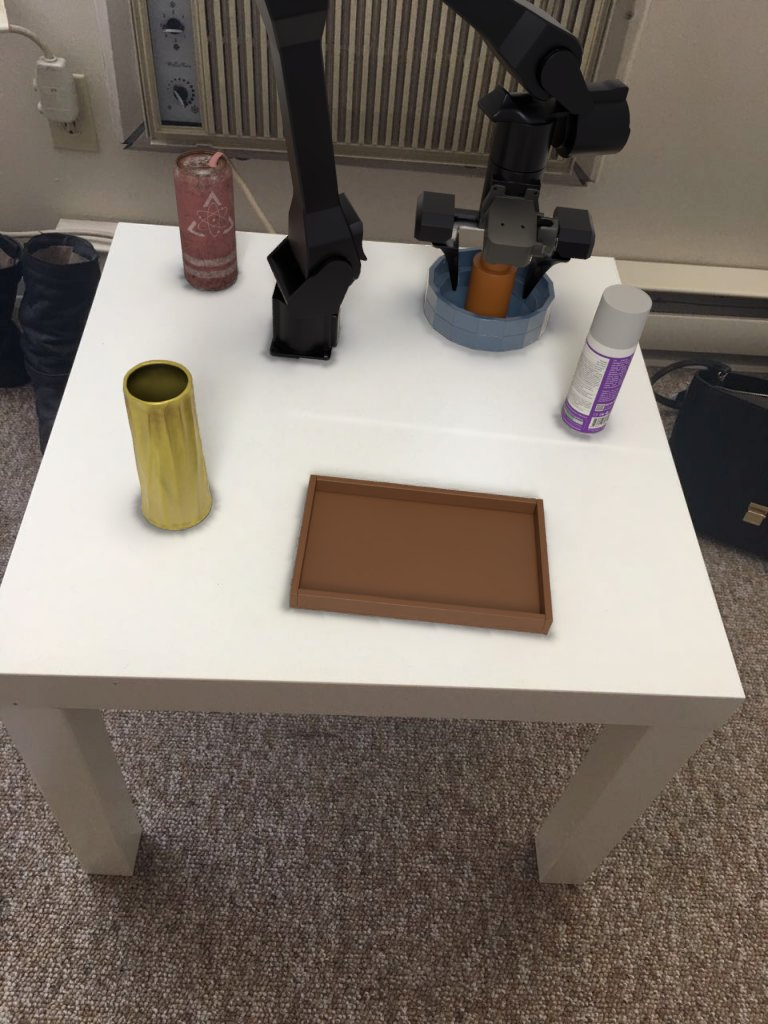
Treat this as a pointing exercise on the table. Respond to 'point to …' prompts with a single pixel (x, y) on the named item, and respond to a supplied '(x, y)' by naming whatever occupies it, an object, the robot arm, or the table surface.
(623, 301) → the container
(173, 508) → the vase
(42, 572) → the table surface
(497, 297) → the bottle
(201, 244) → the can
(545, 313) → the bowl
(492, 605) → the tray
